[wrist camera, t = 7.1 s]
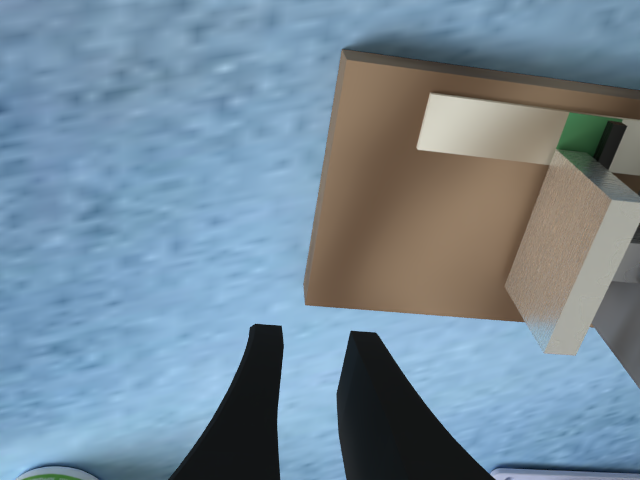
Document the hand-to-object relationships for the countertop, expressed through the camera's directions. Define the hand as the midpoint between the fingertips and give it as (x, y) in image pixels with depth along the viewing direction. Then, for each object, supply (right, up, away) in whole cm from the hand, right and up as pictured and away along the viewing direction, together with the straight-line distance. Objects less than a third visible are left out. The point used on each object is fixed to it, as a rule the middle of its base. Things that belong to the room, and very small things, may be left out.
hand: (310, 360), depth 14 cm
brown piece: (+10, +4, +10) cm, 15 cm away
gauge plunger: (+13, +4, +9) cm, 16 cm away
